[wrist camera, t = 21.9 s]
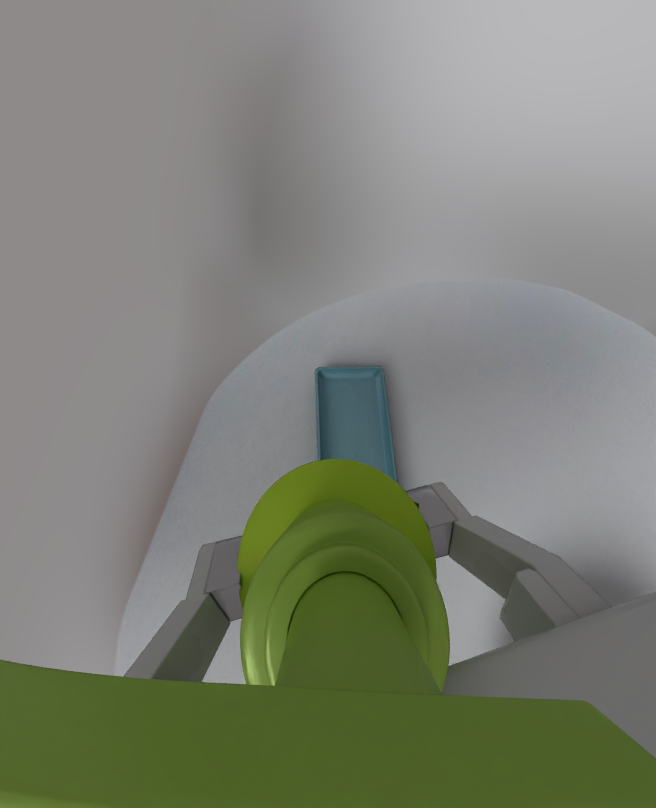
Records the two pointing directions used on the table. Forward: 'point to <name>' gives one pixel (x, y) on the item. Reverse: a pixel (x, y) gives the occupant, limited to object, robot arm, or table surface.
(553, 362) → the table surface
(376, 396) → the rectangular tray
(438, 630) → the soap dispenser
